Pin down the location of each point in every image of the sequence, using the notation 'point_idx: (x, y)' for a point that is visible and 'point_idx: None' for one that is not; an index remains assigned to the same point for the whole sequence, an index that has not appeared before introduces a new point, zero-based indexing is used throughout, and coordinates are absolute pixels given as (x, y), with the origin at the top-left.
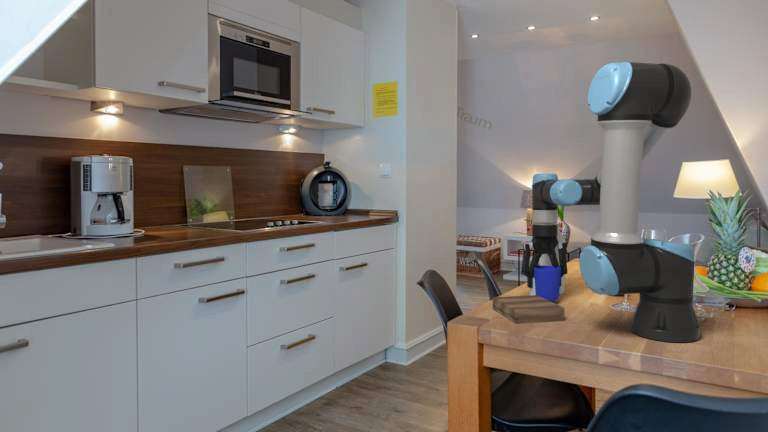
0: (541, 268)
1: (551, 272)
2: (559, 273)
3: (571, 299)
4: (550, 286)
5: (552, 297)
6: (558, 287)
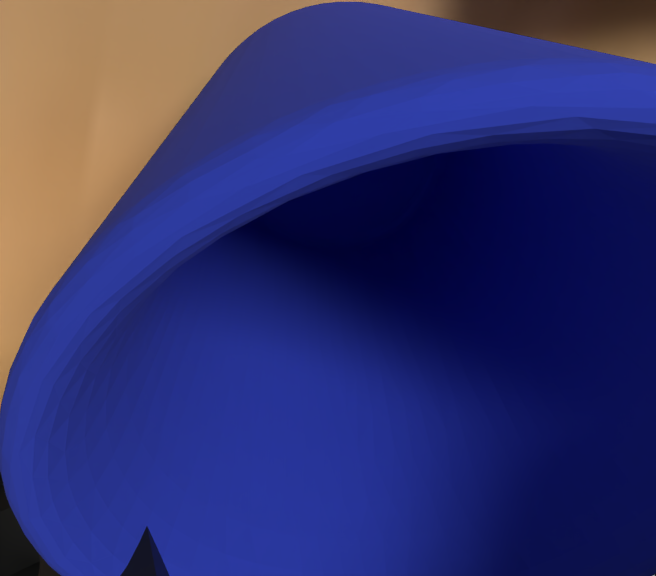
0: (432, 569)
1: (532, 50)
2: (141, 174)
3: (30, 277)
4: (404, 11)
5: (326, 3)
6: (211, 79)
